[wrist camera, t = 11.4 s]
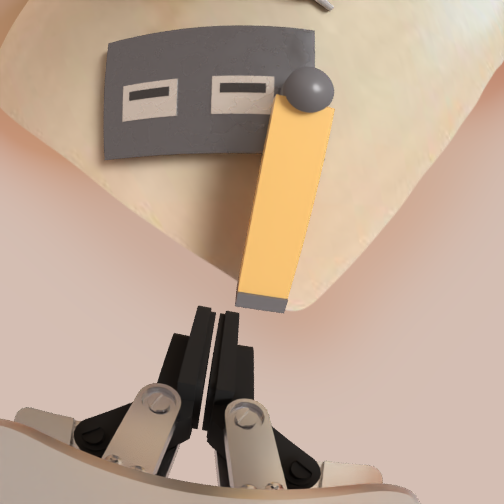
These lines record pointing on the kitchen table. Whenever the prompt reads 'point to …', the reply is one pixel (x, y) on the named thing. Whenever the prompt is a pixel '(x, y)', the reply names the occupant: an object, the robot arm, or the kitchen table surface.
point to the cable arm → (285, 189)
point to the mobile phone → (325, 4)
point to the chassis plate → (198, 88)
